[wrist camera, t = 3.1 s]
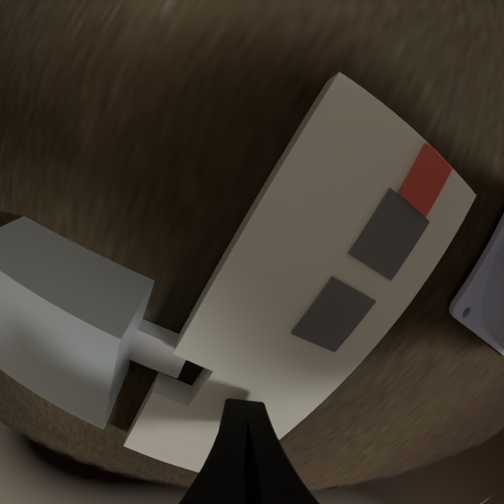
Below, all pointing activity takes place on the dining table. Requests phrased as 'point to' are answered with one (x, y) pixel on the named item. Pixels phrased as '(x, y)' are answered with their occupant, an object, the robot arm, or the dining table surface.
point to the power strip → (309, 273)
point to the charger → (74, 322)
